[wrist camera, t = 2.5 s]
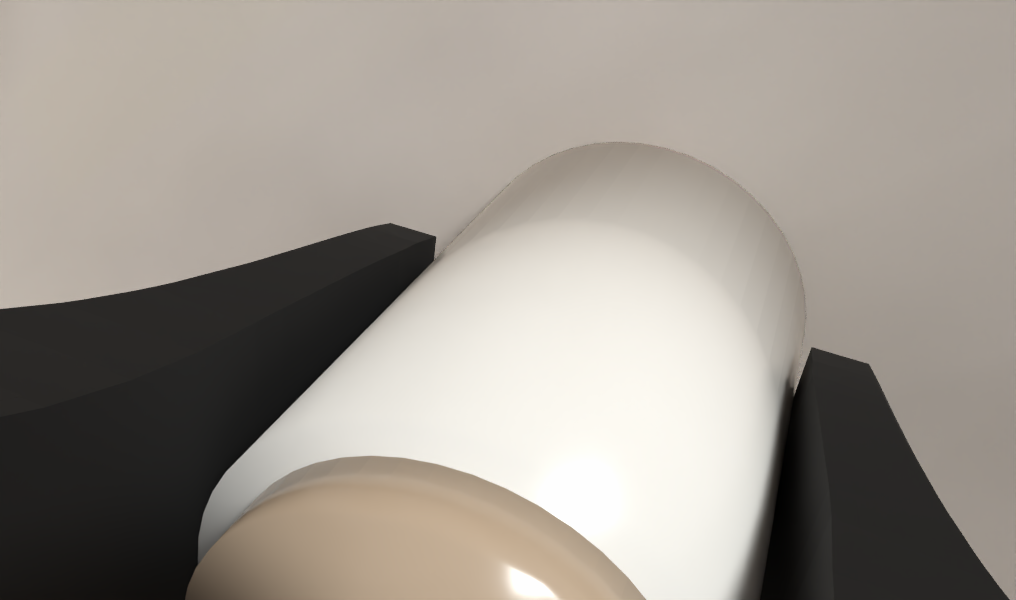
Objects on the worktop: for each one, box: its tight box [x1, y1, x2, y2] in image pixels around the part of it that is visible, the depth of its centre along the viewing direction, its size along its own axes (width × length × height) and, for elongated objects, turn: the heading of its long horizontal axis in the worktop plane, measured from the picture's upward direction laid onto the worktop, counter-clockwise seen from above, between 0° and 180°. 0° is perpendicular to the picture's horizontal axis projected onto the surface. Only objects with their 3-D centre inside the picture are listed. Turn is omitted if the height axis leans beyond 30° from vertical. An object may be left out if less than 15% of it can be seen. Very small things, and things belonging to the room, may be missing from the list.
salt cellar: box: [185, 142, 806, 600], centre depth 9 cm, size 4×4×7 cm
